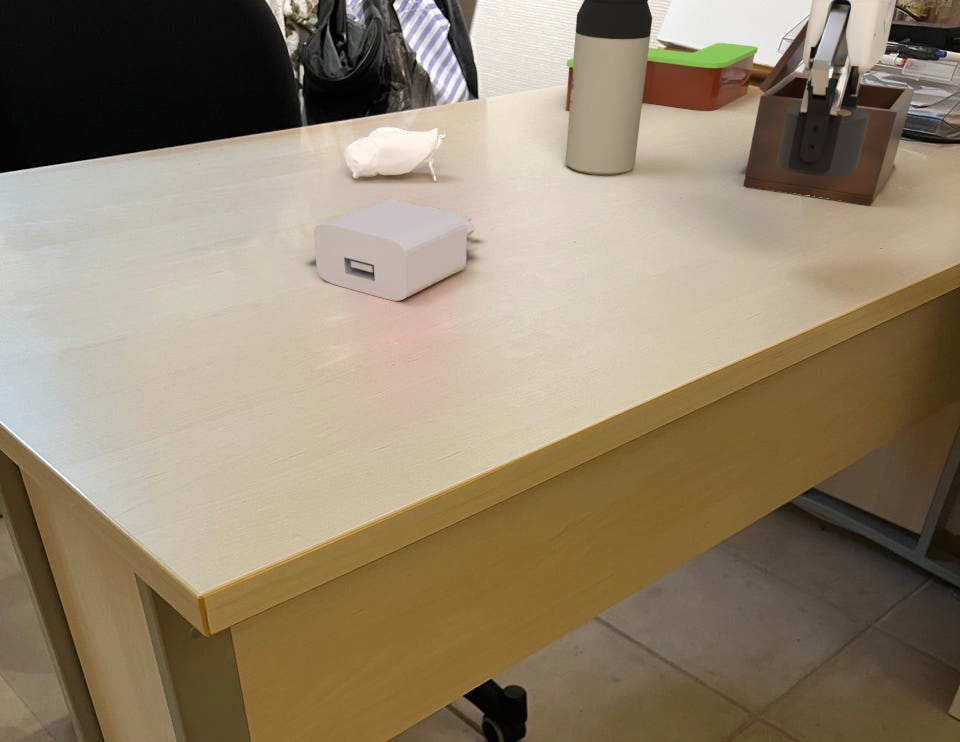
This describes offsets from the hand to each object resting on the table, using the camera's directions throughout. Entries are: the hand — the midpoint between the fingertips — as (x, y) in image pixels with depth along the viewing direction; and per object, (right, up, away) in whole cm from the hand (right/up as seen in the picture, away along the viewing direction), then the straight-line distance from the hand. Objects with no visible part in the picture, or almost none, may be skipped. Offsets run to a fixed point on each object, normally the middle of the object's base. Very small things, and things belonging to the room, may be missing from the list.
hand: (818, 157), depth 77 cm
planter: (-1, +40, +62) cm, 74 cm away
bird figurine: (-37, +11, +26) cm, 47 cm away
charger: (-33, -7, +5) cm, 35 cm away
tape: (0, 0, 0) cm, 1 cm away
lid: (+9, +25, +21) cm, 34 cm away
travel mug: (-14, +15, +32) cm, 38 cm away
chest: (+11, +13, +30) cm, 34 cm away
